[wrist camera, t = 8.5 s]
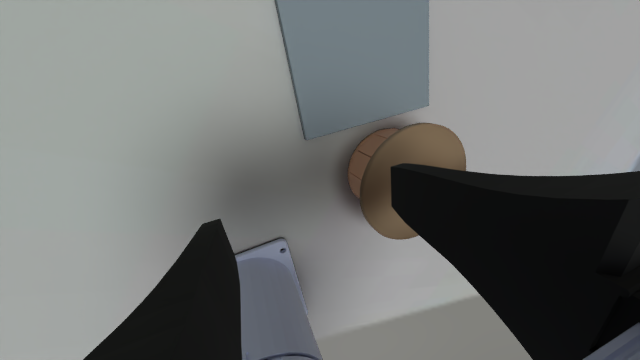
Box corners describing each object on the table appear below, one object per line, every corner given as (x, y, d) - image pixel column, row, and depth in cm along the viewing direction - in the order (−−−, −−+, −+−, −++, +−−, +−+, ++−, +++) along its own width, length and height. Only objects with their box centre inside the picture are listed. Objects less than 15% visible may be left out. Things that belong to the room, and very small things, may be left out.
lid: (457, 212, 22) (510, 241, 18) (367, 251, 20) (404, 295, 16) (462, 108, 18) (531, 116, 14) (351, 143, 16) (395, 163, 12)
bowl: (415, 189, 25) (447, 207, 21) (352, 213, 23) (376, 236, 20) (414, 119, 22) (451, 126, 18) (341, 140, 20) (367, 153, 17)
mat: (424, 105, 22) (428, 105, 21) (304, 138, 19) (306, 140, 18) (423, -61, 17) (429, -64, 16) (264, -47, 14) (266, -51, 14)
